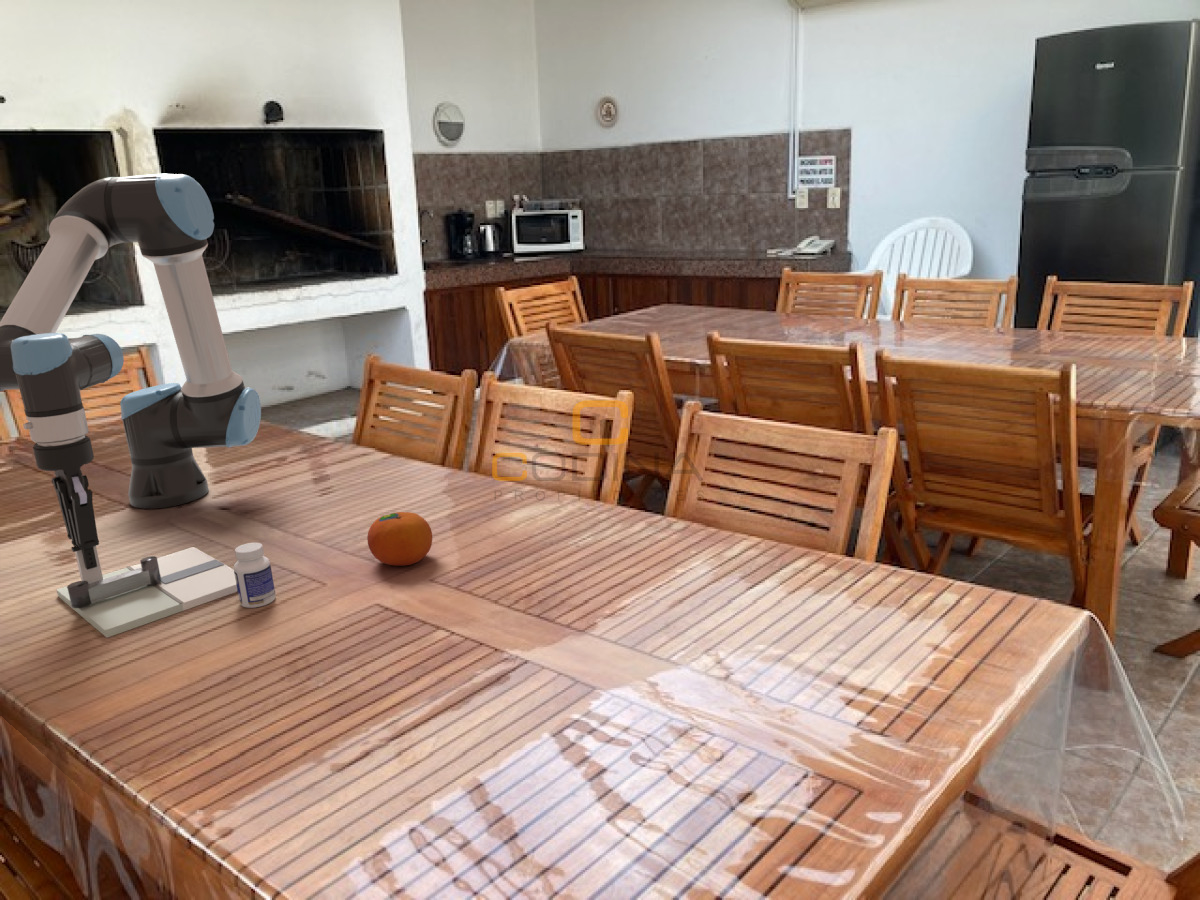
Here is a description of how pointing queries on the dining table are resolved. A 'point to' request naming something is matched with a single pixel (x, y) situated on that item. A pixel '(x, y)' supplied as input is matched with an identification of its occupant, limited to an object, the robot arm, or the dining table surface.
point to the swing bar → (115, 584)
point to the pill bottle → (253, 576)
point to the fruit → (400, 538)
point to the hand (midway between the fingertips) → (93, 585)
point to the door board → (160, 592)
